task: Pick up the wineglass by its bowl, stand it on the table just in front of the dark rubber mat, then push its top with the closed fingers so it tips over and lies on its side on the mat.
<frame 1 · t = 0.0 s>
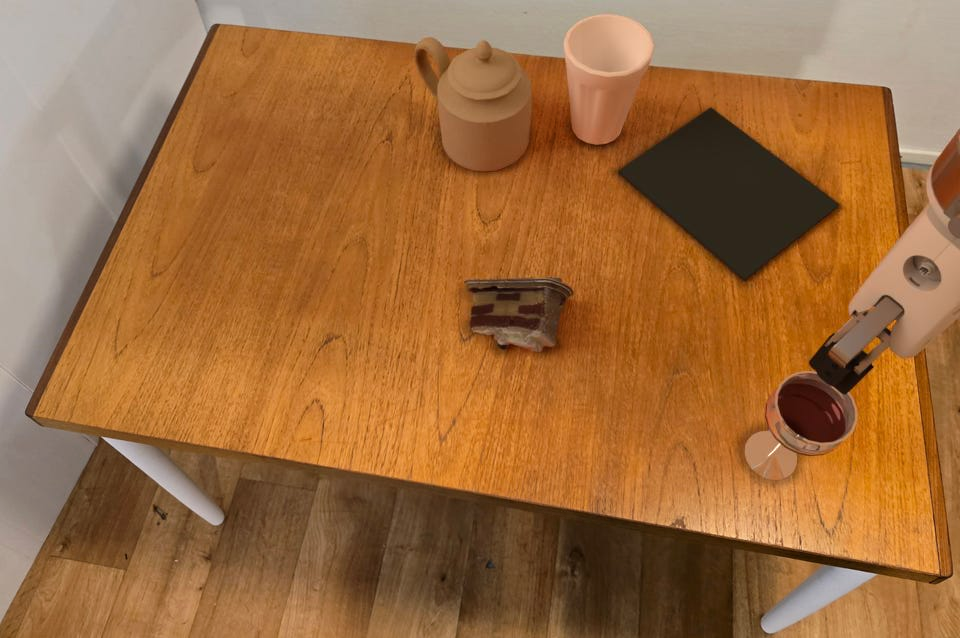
hand: (872, 338, 53), 22 cm above the table, tool pointing down, fingers open, 9 cm apart
cup: (596, 129, 94), on the table
mat: (725, 189, 88), on the table
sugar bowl: (470, 137, 93), on the table
wineglass: (770, 455, 72), on the table
checkered cake slice: (513, 324, 80), on the table
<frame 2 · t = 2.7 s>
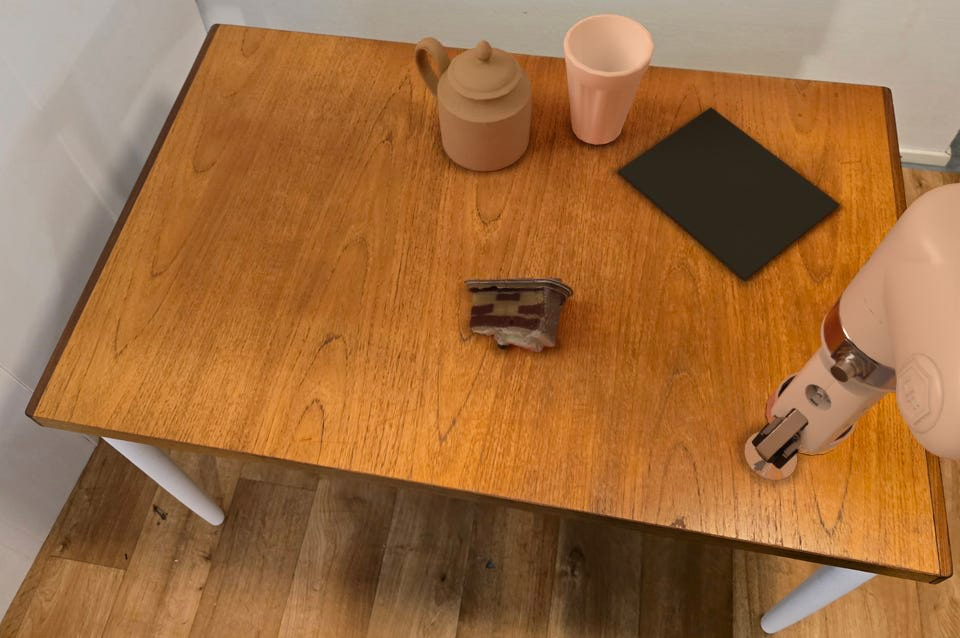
hand: (795, 428, 66), 7 cm above the table, tool pointing down, fingers closed on wineglass, 6 cm apart
wineglass: (770, 455, 72), on the table, touching gripper
everything else where it was.
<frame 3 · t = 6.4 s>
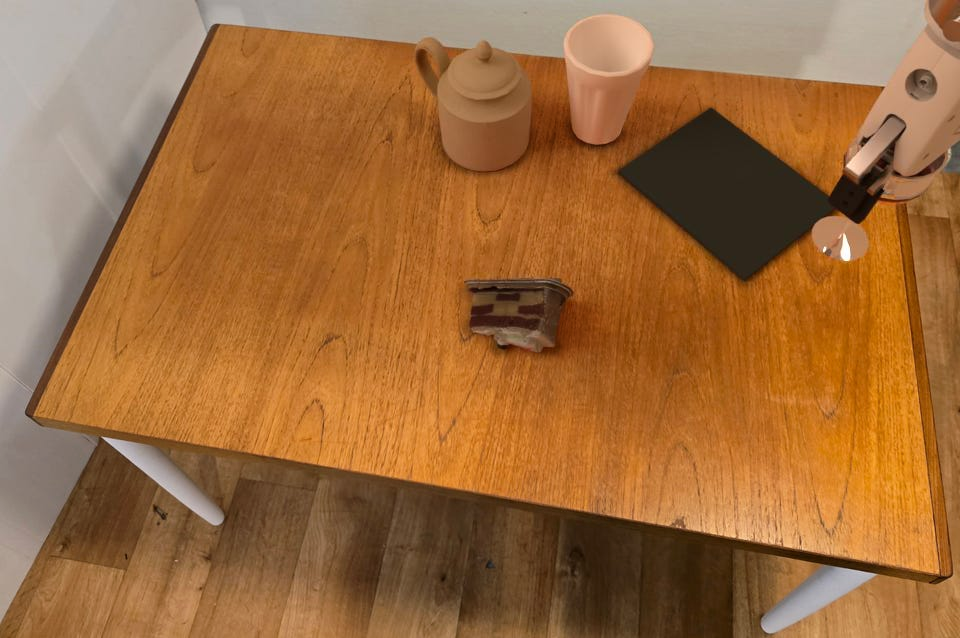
hand: (874, 187, 61), 21 cm above the table, tool pointing down, fingers closed on wineglass, 6 cm apart
wineglass: (839, 239, 67), point 14 cm above the table, touching gripper
everything else where it was.
when the fingers open (7 cm above the table, at t = 10.4 s): wineglass stays where it is, on the table.
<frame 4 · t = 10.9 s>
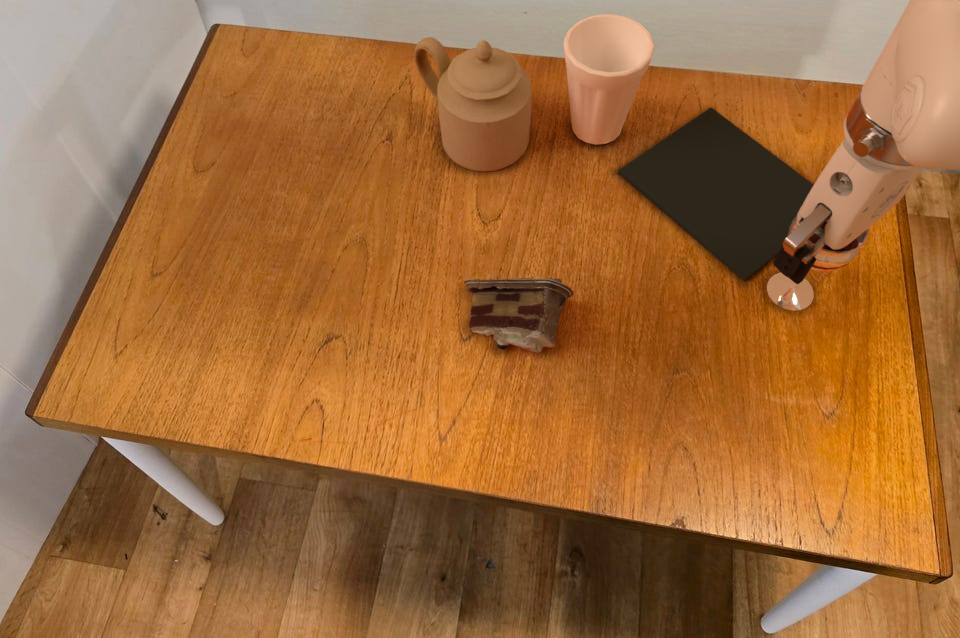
hand: (819, 246, 74), 8 cm above the table, tool pointing down, fingers open, 9 cm apart
wineglass: (789, 291, 81), on the table
everything else where it was.
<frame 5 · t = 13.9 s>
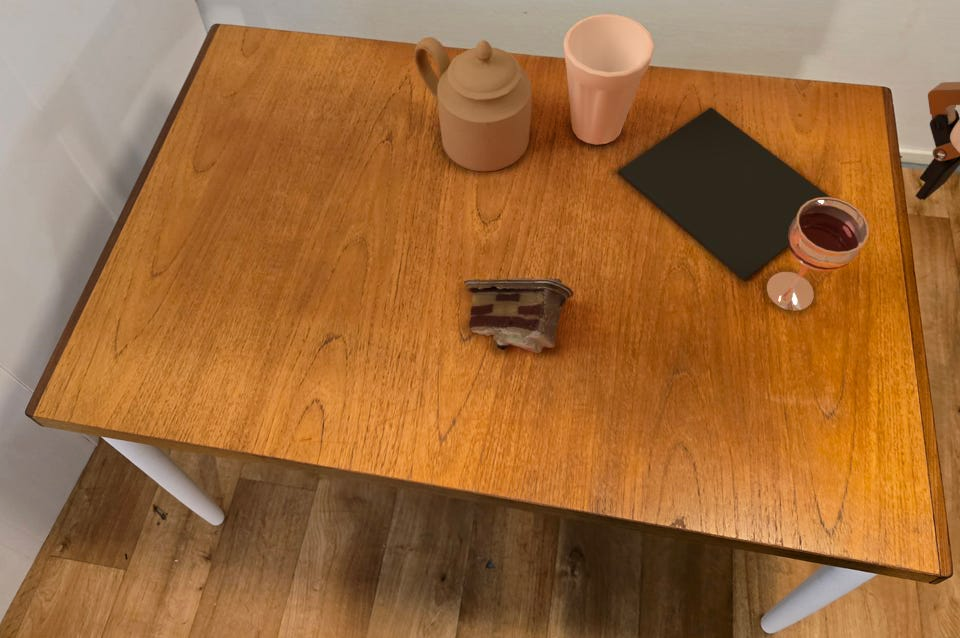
nothing on the table moved.
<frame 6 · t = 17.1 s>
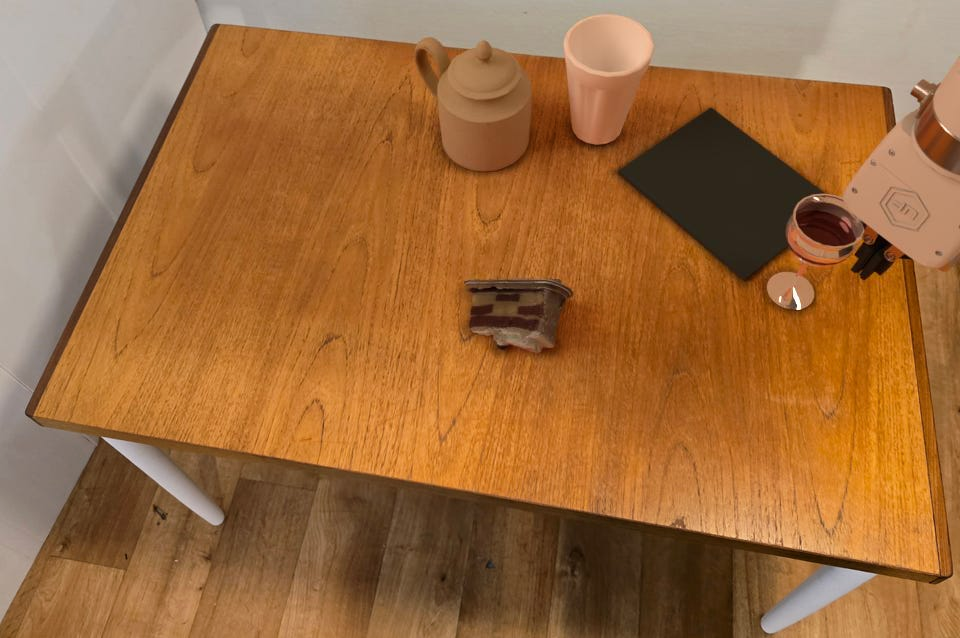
hand: (867, 267, 70), 10 cm above the table, tool pointing down, fingers closed
wineglass: (789, 291, 81), on the table, touching gripper
everything else where it was.
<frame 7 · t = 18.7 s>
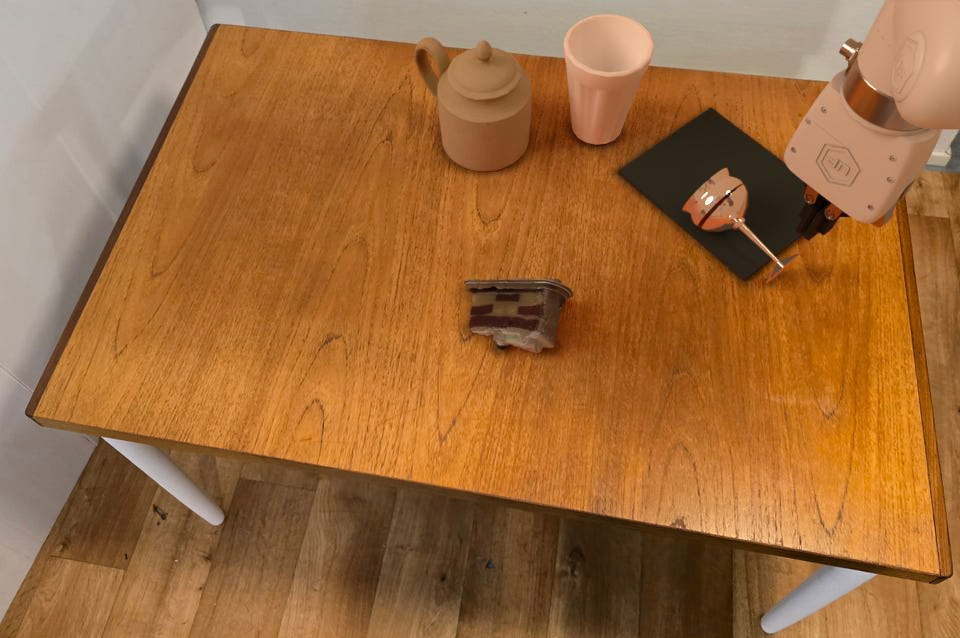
hand: (811, 228, 73), 10 cm above the table, tool pointing down, fingers closed
wineglass: (785, 269, 80), point 2 cm above the table, touching mat
everything else where it was.
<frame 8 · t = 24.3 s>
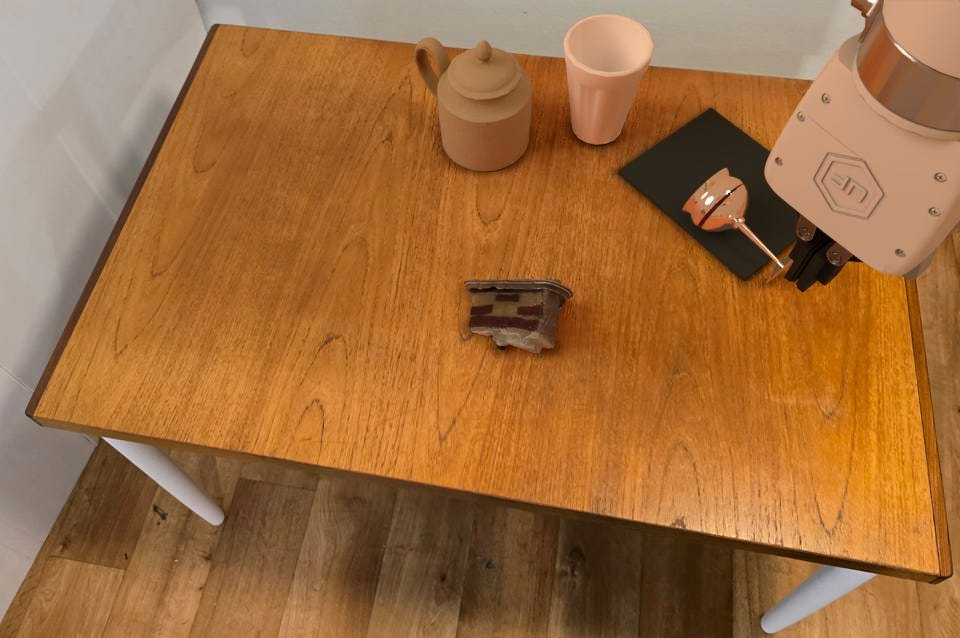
hand: (807, 273, 50), 27 cm above the table, tool pointing down, fingers closed
nothing on the table moved.
at the end: wineglass tilted 81°; wineglass touching mat, table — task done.
